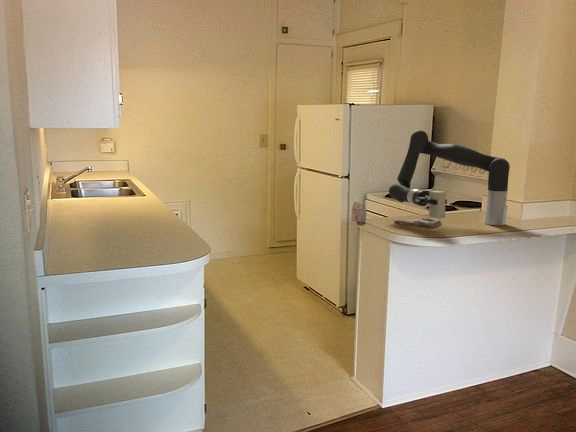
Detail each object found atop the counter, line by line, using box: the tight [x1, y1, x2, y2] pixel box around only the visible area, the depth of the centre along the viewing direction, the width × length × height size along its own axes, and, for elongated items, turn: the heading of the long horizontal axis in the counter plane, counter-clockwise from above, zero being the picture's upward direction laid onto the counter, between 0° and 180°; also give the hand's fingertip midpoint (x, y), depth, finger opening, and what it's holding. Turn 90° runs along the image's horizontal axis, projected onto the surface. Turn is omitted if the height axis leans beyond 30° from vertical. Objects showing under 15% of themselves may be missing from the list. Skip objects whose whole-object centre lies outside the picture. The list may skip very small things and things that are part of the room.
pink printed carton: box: [351, 200, 367, 224], centre depth 261 cm, size 4×7×10 cm, turn 35°
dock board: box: [393, 217, 442, 229], centre depth 257 cm, size 20×12×2 cm, turn 52°
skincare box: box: [428, 190, 447, 220], centre depth 234 cm, size 6×4×12 cm
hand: (441, 202), depth 232 cm, fingers closed on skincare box, 5 cm apart
